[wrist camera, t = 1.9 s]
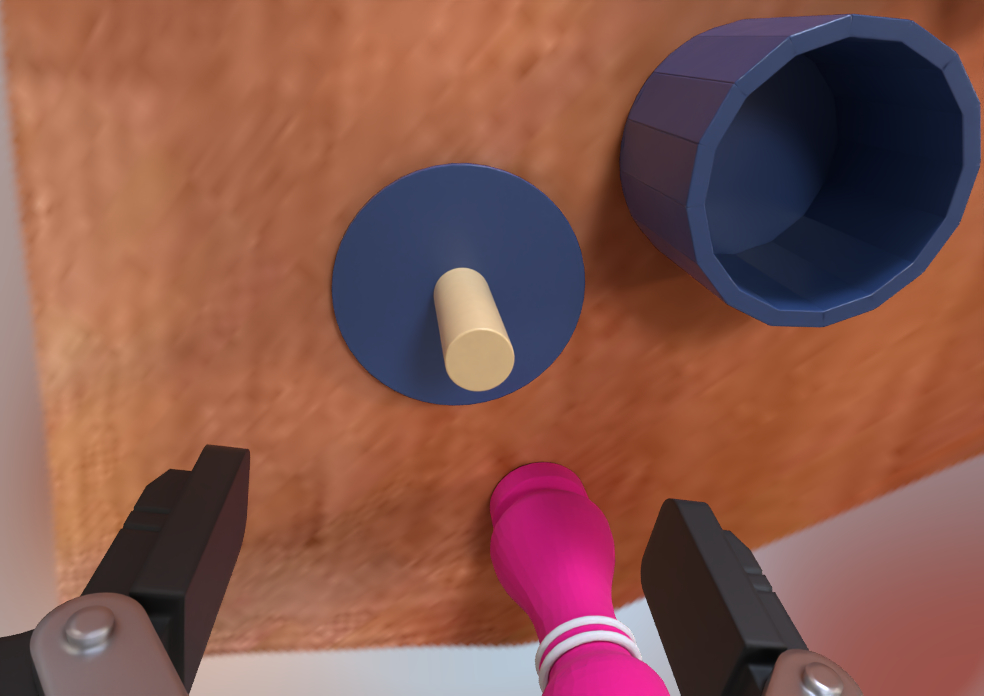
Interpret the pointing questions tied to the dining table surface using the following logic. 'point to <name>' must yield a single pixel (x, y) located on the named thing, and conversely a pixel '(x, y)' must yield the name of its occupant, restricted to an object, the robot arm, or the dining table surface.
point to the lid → (458, 284)
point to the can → (803, 161)
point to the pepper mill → (565, 584)
